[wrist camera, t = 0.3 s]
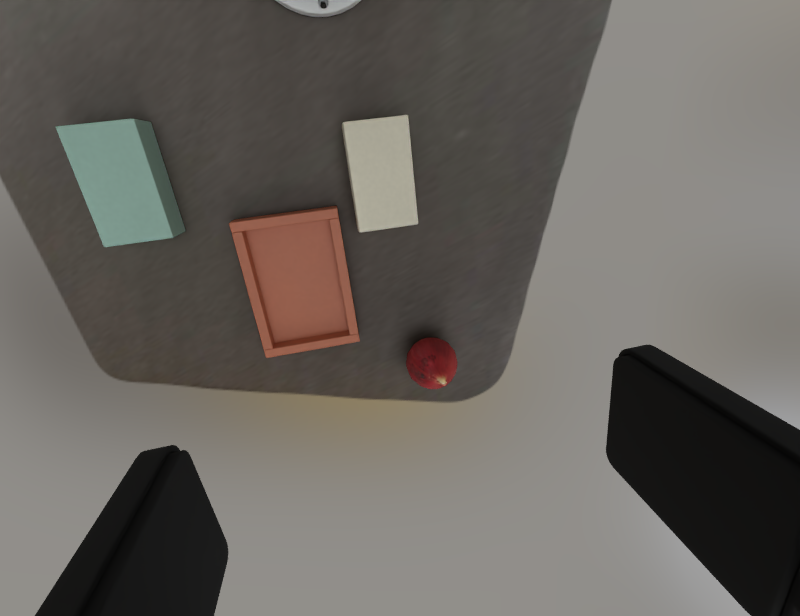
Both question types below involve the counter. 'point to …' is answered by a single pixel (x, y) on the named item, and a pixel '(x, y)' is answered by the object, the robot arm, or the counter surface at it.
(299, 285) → the holder
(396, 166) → the pad top
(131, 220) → the pad base
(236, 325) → the counter surface
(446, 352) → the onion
